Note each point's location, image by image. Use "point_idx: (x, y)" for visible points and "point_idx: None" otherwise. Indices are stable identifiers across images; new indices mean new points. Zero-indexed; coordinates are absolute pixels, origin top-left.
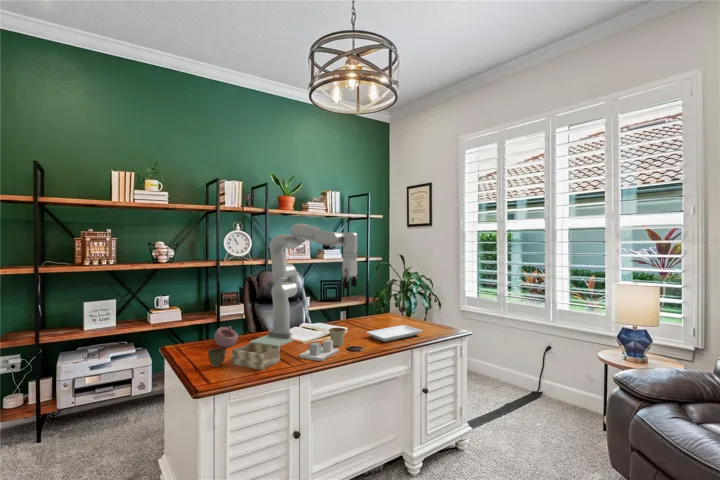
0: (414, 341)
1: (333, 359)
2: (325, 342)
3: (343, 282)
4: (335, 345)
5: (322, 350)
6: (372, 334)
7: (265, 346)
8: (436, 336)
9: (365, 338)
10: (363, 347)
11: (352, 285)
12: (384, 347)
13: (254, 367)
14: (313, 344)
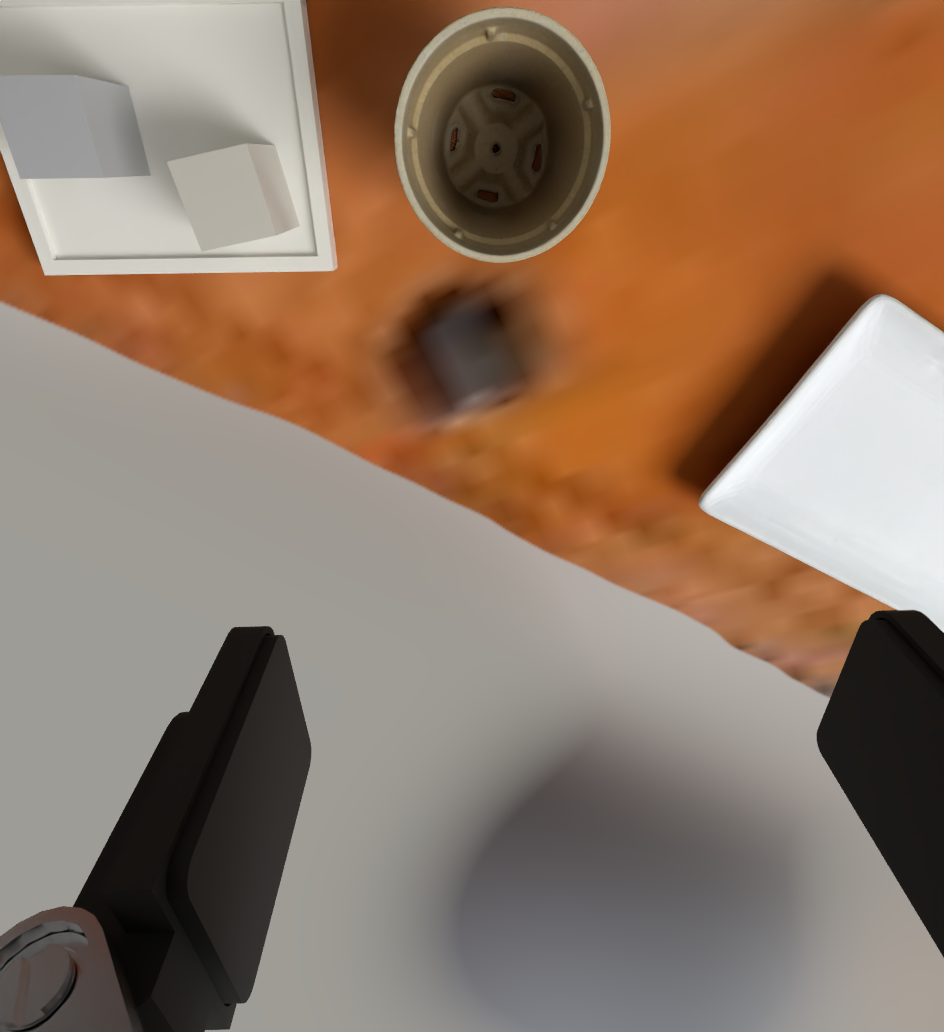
0: (778, 631)
1: (153, 331)
2: (181, 192)
3: (143, 815)
4: (440, 162)
5: (225, 137)
6: (799, 383)
7: None
8: None
9: (800, 299)
10: (527, 399)
11: (867, 665)
12: (582, 524)
13: None
14: (15, 123)
